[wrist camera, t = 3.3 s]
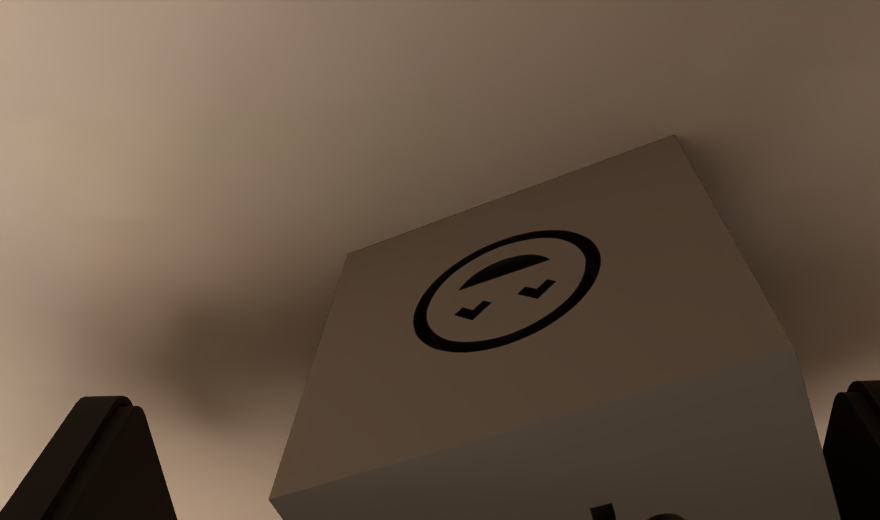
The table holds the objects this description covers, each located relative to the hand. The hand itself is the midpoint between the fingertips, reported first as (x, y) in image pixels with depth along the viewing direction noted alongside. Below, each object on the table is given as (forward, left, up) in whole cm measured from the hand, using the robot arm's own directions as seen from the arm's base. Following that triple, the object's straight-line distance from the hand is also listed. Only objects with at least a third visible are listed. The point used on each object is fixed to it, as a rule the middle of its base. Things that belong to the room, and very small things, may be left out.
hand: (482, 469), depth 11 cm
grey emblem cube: (-1, +1, -3) cm, 3 cm away
